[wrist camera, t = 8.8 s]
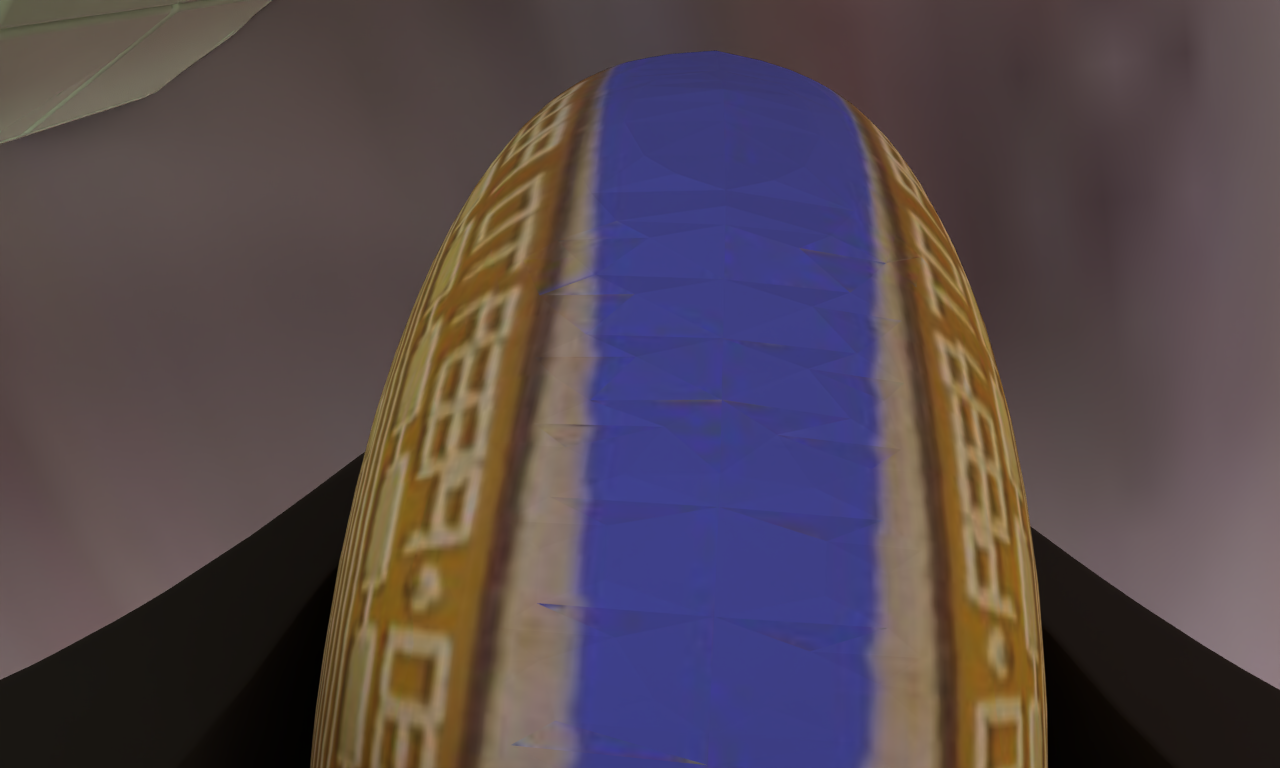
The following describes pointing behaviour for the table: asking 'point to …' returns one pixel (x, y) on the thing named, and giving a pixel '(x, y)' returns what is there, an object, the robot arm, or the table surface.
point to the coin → (690, 460)
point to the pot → (100, 53)
